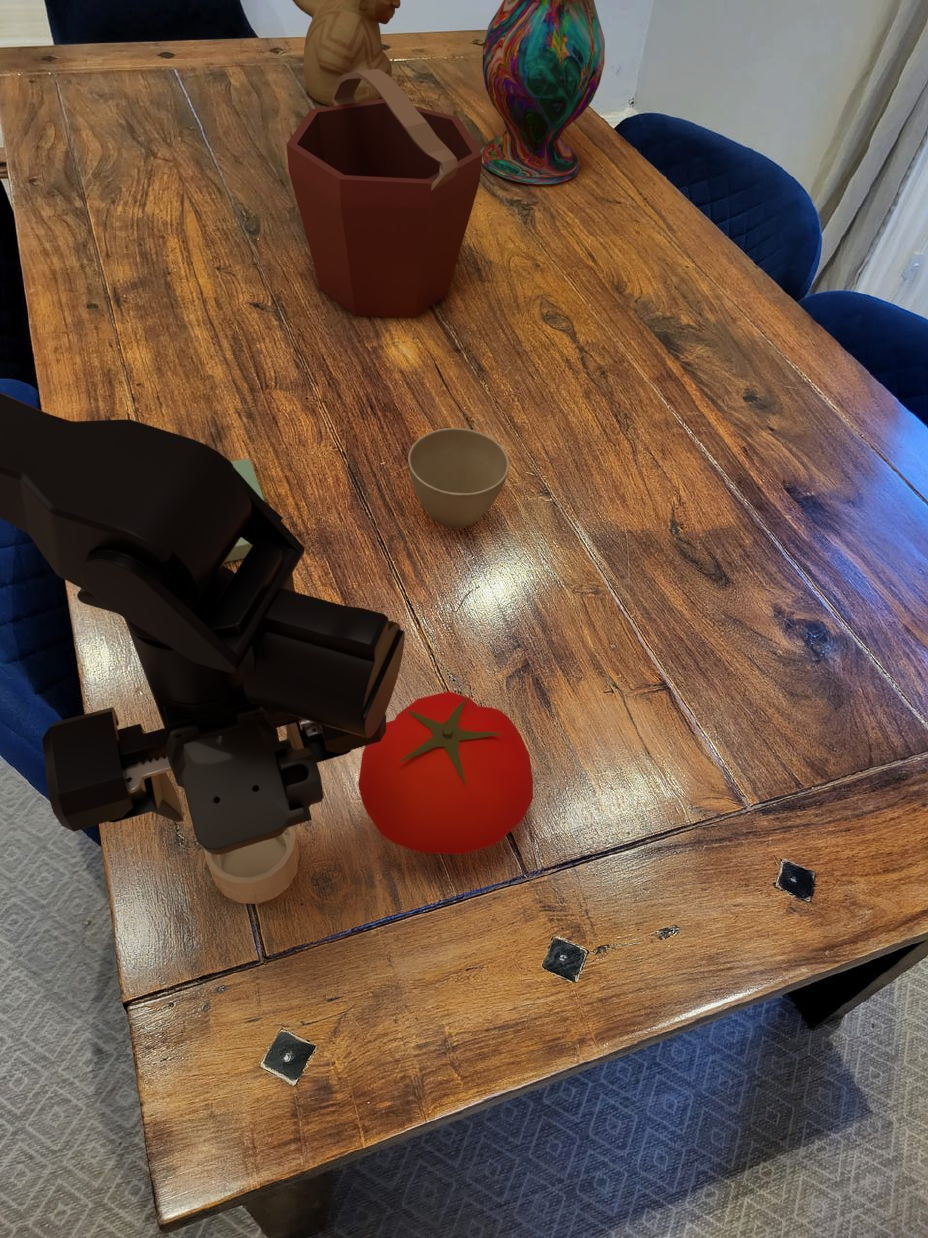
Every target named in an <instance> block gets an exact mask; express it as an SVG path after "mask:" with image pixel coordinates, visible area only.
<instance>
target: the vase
mask: <svg viewBox="0 0 928 1238" xmlns="http://www.w3.org/2000/svg"><path fill="white" fill-rule="evenodd" d="M605 50H606V40H605V35H604V32H603V29H602V26H601V22H600V19H599V15H598V11H597V7H596V2H595V0H502V2H501V4H500V5H499V7H498V9H497V10H496V11H495V14H494V16H493V17H492V18H491V20H490V22H489V23H488V26H487V30H486V35H485V38H484V42H483V47H482V74H483V80H484V87H485V90H486V92H487V94H488V97H489V99H490V102H491V104H492V106H493V107H494V109H495V110H496V112H497V113H498V114H499V116H500V118H501V119H502V121H503V123H504V127H505V129H506V130H505V131H504V132H503V133H502V134H501V135H499V136H497V137H495V138H493V139H491V140H490V141H488V142H487V143H486V144H485V145H484V146H483V147H482V148H481V150H480V151H481V153H482V165H483V166H484V167H485V168H486V169H487V170H488V171H490V172H491V173H493V174H495V175H497V176H498V177H502V178H504V179H507V180H510V181H514V182H518V183H522V184H523V183H524V184H531V185H551V184H558V183H562V182H566V181H568V180H570V179H572V178H574V177H575V176H576V175H578V174H579V172H580V170H581V167H582V166H581V165H582V164H581V161H580V159H579V158H578V156H577V154H576V153H575V151H574V150H573V149H572V148H571V147H570V146H568V145H567V144H566V143H565V142H564V140H563V138H562V135H563V133H564V132H565V131H566V130H567V128H568V127H570V125H572V124H573V123H574V122H575V121H576V120H578V119H579V118H580V117H581V116H582V114H584V112H585V111H586V109H587V108H588V107H589V106H590V104H591V103H592V102H593V100H594V97H595V96H596V93H597V90H598V89H599V86H600V83H601V78H602V75H603V71H604V69H605V68H604V67H605V56H606V55H605V54H606V51H605Z"/></svg>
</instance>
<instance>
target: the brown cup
mask: <svg viewBox="0 0 928 1238" xmlns="http://www.w3.org/2000/svg"><path fill="white" fill-rule="evenodd" d="M407 456H408V457H407V462H408V464H407V465H408V470H409V471H408V472H409V475H410V480H411V482H412V483H411V484H412V486H413V489H414V492H415V494H416V496H417V499H418V500H419V503H420V504H421V506H422V508H423V509H424V510H425V512H426V513H427V514H428V516H429V517H430V518H431V519H432V520H433V521H434V522H435V523H436V524H437V525H439V526H441V527H444V528H447V529H454V530H456V529H459V530H460V529H465V528H468V527H470V526H471V525H473V524H474V523H476V522H477V521H479V520H480V518H482V517H483V516H484V515H485V514H486V513H487V512H488V510H489V509H490V508H491V507H492V505H494V503H495V501H496V499H497V498H498V496H499V495H500V493H501V491H502V489H503V488H504V485H505V483H506V480H507V477H508V474H509V470H510V457H509V455H508V454H507V452H506V450H505V448H504V447H503V446H502V445H501V444H500V443H499V442H498V441H497V440H495V439H494V438H492V437H491V436H489V435H487V434H485V433H483V432H480V431H477V430H473V429H471V428H470V429H469V428H463V427H446V428H445V427H444V428H440V429H435V430H432V431H430V432H428V433H425V434H423V435H421V437H419V438H418V439H417V440H416V441H414V443H413V444H412V445H411V447H410V449H409V451H408V455H407Z"/></svg>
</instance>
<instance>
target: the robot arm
mask: <svg viewBox="0 0 928 1238" xmlns="http://www.w3.org/2000/svg"><path fill="white" fill-rule="evenodd" d="M231 462H232V461H231V460H230V459H229V458H227V457H226V456H225V455H224V454H222V453H221V452H220V451H218V450H216V449H214V448H213V447H211V446H209V445H208V444H207V443H204V442H201V441H198V440H196V439H194V438H190V437H187V436H184V435H181V434H178V433H174V432H172V431H168V430H165V429H162V428H159V427H155V426H153V425H149V424H146V423H143V422H140V421H136V420H132V419H123V418H122V419H103V420H100V419H99V420H76V421H74V420H70V419H66V418H63V417H60V416H58V415H57V416H56V415H53V414H51V413H48V412H45V411H43V410H40V409H39V408H36V407H34V406H31V405H29V404H27V403H25V402H23V401H21V400H18V399H16V398H14V397H12V396H10V395H7V394H5V393H2V391H1V392H0V520H2V521H4V522H6V523H8V524H10V525H12V526H14V527H15V528H17V529H19V530H21V531H23V532H25V533H26V534H28V535H29V537H30V538H31V539H32V542H33V543H34V545H36V547H37V548H38V550H39V551H40V553H41V555H42V556H43V557H44V558H45V560H46V561H47V563H48V565H49V566H50V567H51V569H52V570H53V571H54V573H55V574H56V575H57V576H58V577H59V578H61V579H63V580H65V581H67V582H68V583H70V584H72V585H74V586H75V587H78V588H80V589H79V591H78V592H77V595H76V597H77V600H78V601H79V602H81V603H82V604H84V605H87V606H90V607H94V608H97V609H100V610H103V611H107V612H111V613H114V614H117V615H119V616H120V617H122V618H123V619H124V621H125V625H126V626H127V627H126V628H127V630H128V633H129V635H130V638H131V640H132V643H133V646H134V649H135V651H136V654H137V657H138V660H139V662H140V665H141V668H142V671H143V673H144V676H145V678H146V682H147V684H148V686H149V687H148V688H149V689H150V692H151V695H152V698H153V700H154V703H155V706H156V708H157V712H158V714H159V717H160V719H161V722H162V725H163V728H159V729H156V730H153V731H152V730H151V731H149V732H146V731H145V729H144V727H143V725H142V723H137V724H133V725H129V726H125V727H122V728H118V727H119V725H120V723H119V722H120V721H119V717H118V713H117V712H116V709H115V707H114V706H111V707H108V708H103V709H100V710H96V711H92V712H87V713H85V714H84V713H83V714H80V715H76V716H73V717H69V718H65V719H62V720H61V719H60V720H58V721H54V722H52V723H51V724H50V726H49V728H48V729H47V730H46V732H45V734H44V735H43V736H42V739H41V740H42V748H43V758H44V765H45V766H44V767H45V775H46V782H47V783H46V784H47V792H48V800H49V803H50V806H51V809H52V813H53V815H54V816H55V818H56V819H57V821H58V822H59V824H60V825H61V827H63V828H65V829H67V830H69V831H71V832H77V831H81V830H84V829H87V828H91V827H94V826H98V825H102V824H104V823H118V822H122V821H124V820H129V819H132V818H135V817H138V816H141V815H146V814H149V813H154V814H156V815H159V816H160V817H163V818H166V819H168V820H171V821H173V822H175V823H180V822H183V821H184V815H183V810H182V806H181V803H180V800H179V797H178V794H177V790H176V788H175V787H174V785H173V783H172V781H171V779H170V777H169V775H168V774H167V773H169V772H172V774H173V777H174V779H175V783H176V785H177V786H178V787H180V788H183V790H184V794H185V799H186V804H187V807H188V812H189V815H190V820H191V823H192V824H191V825H192V828H193V831H194V835H195V838H196V841H197V842H198V843H199V845H200V846H201V848H203V850H204V849H205V850H206V851H207V852H209V853H211V854H215V855H220V854H225V853H228V852H231V851H234V850H236V849H240V848H243V847H246V846H249V845H252V844H255V843H259V842H262V841H265V840H269V839H272V838H275V837H278V836H280V835H281V834H283V833H284V832H285V830H286V829H287V828H288V827H291V826H294V827H295V826H297V825H301V824H304V823H306V822H311V821H312V814H311V810H310V807H311V806H312V805H315V804H319V803H321V802H323V800H324V798H325V797H324V790H323V783H322V782H323V781H322V777H321V773H320V769H319V766H318V763H321V762H325V761H328V760H331V759H336V758H339V757H341V756H346V755H348V754H349V753H350V752H352V751H353V750H356V749H360V748H363V747H365V746H367V745H370V744H373V743H377V742H380V741H381V739H382V738H383V736H384V734H385V733H386V723H387V710H388V708H389V704H390V702H391V699H392V697H393V693H394V690H395V687H396V684H397V680H398V677H399V673H400V669H401V664H402V659H403V654H404V648H405V641H406V631H405V630H402V627H401V625H400V623H398V622H395V621H393V620H389V618H390V617H388V615H386V614H385V613H381V612H378V611H374V610H370V609H367V608H363V607H357V606H349V605H343V604H340V603H336V602H333V601H329V600H325V599H322V598H319V597H316V596H312V595H308V594H304V593H301V592H296V589H295V582H294V574H293V573H294V572H295V570H296V568H297V566H298V564H299V563H300V561H301V560H302V557H303V556H304V554H305V552H306V549H305V547H304V545H303V544H302V543H301V542H300V541H299V539H298V538H297V537H296V536H295V535H294V534H293V533H292V532H291V530H290V529H289V528H288V527H287V526H286V524H284V522H283V520H284V517H283V516H282V515H281V514H280V513H278V512H277V511H276V510H275V509H274V508H273V507H272V506H271V505H270V504H269V503H267V502H266V500H265V499H264V500H265V501H264V500H263V499H261V497H260V496H259V495H258V494H257V493H256V492H255V491H254V489H253V488H252V487H251V486H250V485H249V484H248V483H247V482H246V480H245V479H244V478H243V477H242V476H241V475H240V474H239V472H238V471H237V470H236V469H235V468H234V466H233V464H232V463H231ZM240 538H243V539H244V540H246V541H247V542H248V543H250V544H251V545H252V547H251V549H250V550H249V552H248V553H247V555H246V557H245V558H243V559H242V560H241V563H240V564H239V566H238V568H237V569H236V571H235V572H234V571H233V570H232V569H230V568H228V567H227V566H225V564H226V562H225V561H226V559H227V558H228V556H229V555H230V553H231V552H232V550H233V549H234V547H235V546H236V544H237V542H238V541H239V539H240ZM281 727H285V729H286V731H285V732H286V739H283V740H280V737H279V732H278V728H281Z"/></svg>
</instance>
